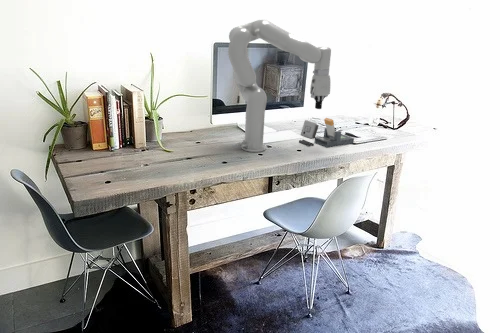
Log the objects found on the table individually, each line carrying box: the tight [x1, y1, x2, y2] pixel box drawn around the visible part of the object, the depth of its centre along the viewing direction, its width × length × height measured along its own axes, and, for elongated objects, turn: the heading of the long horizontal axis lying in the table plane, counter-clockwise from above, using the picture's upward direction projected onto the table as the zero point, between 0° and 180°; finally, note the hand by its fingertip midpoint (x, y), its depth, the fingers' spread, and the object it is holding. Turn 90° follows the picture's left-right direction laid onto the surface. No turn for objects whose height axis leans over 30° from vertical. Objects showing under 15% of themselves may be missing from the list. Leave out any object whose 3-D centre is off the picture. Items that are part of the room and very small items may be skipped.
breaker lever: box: [323, 117, 336, 139], centre depth 210 cm, size 2×6×12 cm, turn 30°
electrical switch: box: [300, 119, 320, 139], centre depth 225 cm, size 9×5×9 cm, turn 35°
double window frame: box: [313, 127, 355, 149], centre depth 214 cm, size 20×10×8 cm, turn 122°
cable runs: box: [298, 139, 315, 147], centre depth 211 cm, size 4×9×1 cm, turn 32°
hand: (318, 108), depth 201 cm, fingers closed
